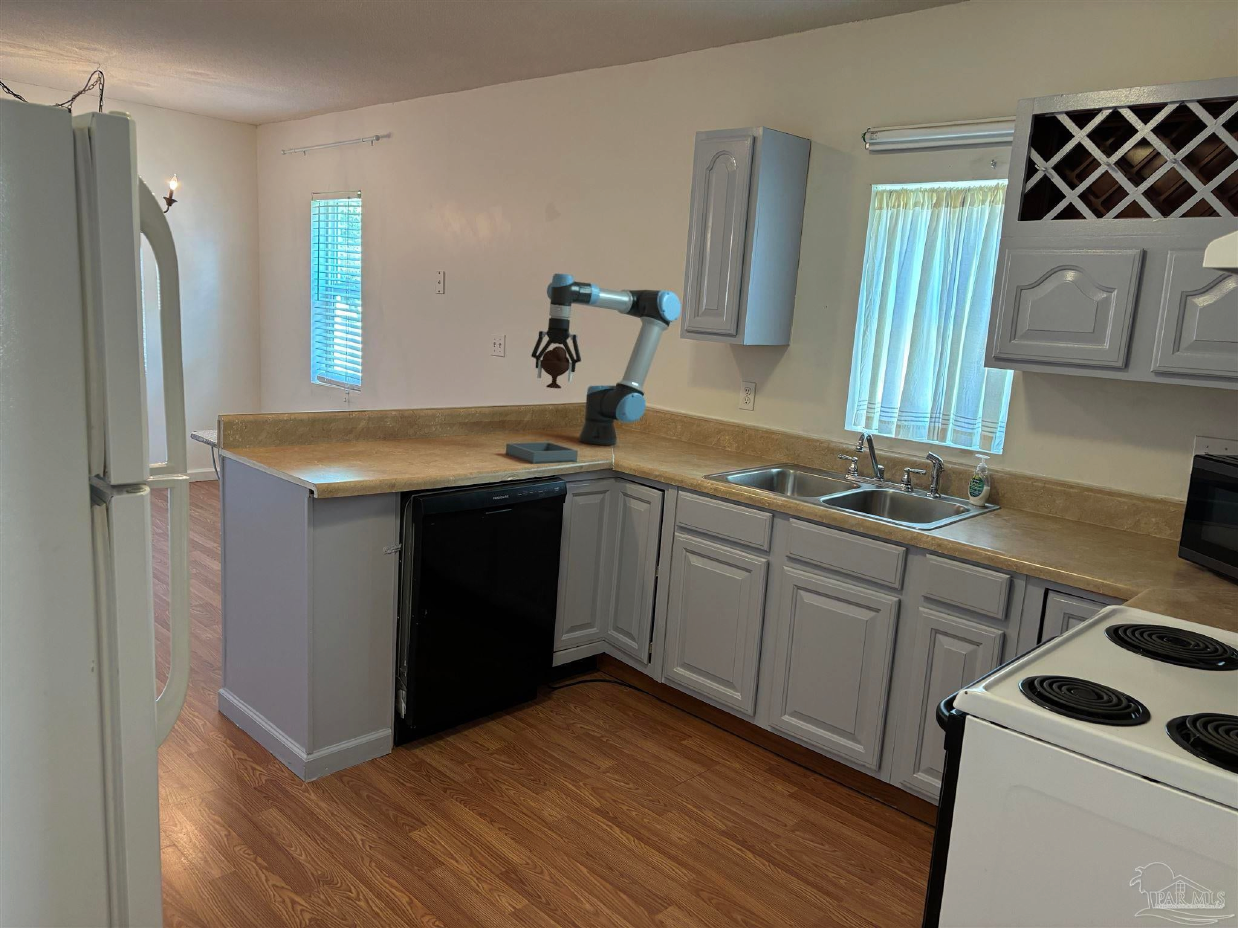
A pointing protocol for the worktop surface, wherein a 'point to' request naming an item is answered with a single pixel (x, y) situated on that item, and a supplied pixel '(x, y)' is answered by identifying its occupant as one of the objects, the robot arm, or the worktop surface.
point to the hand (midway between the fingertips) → (554, 379)
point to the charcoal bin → (541, 452)
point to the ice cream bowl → (555, 364)
